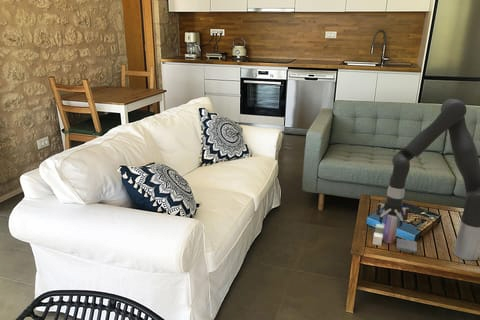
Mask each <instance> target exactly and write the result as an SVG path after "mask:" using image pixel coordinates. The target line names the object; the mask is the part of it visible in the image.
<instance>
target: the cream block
mask: <svg viewBox="0 0 480 320" xmlns="http://www.w3.org/2000/svg"><path fill="white" fill-rule="evenodd" d="M382 237H383V234H380V233H375V231H374V232H373V237H372V245H374V246H375V245H376V246H382V242H383V239H382Z"/></svg>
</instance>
